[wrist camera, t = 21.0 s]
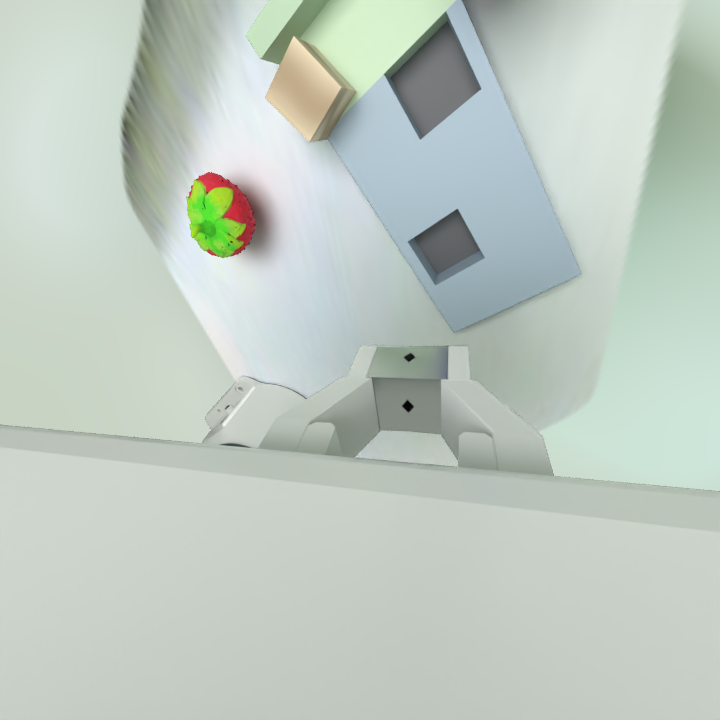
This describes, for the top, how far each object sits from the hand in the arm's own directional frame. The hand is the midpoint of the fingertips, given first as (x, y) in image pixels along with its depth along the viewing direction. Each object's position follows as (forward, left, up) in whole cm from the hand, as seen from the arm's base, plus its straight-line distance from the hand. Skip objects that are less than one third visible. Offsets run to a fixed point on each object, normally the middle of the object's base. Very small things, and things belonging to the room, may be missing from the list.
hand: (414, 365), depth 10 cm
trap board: (+1, +3, -26) cm, 26 cm away
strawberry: (-17, +11, -27) cm, 34 cm away
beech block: (-4, +12, -23) cm, 27 cm away
